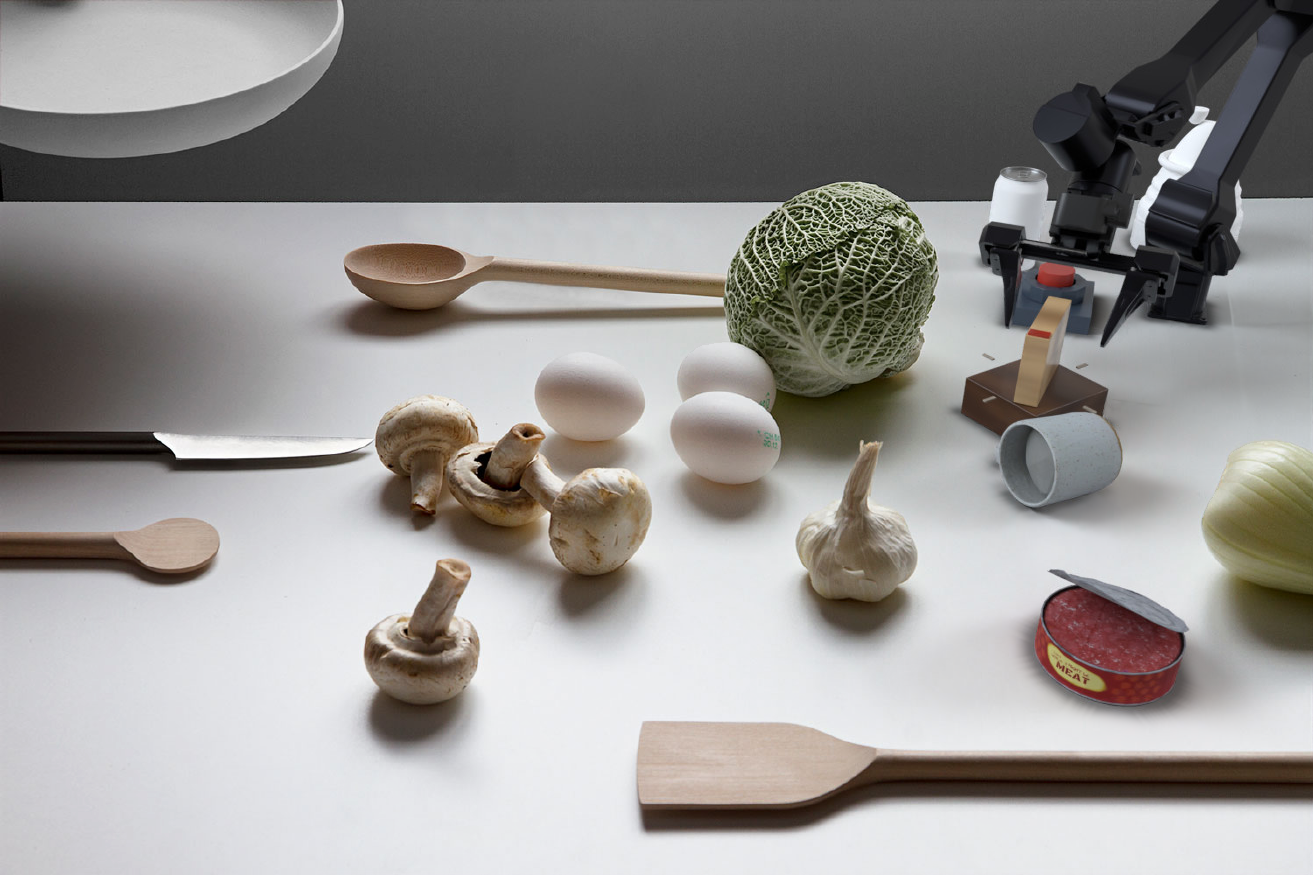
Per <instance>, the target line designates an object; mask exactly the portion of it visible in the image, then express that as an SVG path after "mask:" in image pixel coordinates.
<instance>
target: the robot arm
mask: <svg viewBox="0 0 1313 875" xmlns="http://www.w3.org/2000/svg"><path fill="white" fill-rule="evenodd" d="M1255 33H1256V43H1255V46H1254V47H1253V50H1252V52H1251V54H1250V55H1249V57H1248V60H1247V62H1246V63H1245V65H1244V67H1243V69H1242V71H1241V73H1240V75H1239V78H1238V79H1237V81H1236V82H1235V85H1234V87H1233V89H1232V91H1231V92H1230V95H1229V96H1228V99H1227V100H1226V102H1225V104H1224V106H1223V108H1222V109H1221V112H1220V113H1219V115H1218V117H1217V119H1216V120H1215V121H1216V123H1215V125H1214V127H1213V129H1212V131H1211V133H1210V135H1209V137H1208V139H1207V140H1206V142H1205V144H1204V146H1203V148H1202V150H1201V152H1200V154H1199V156H1198V158H1197V160H1196V162H1195V164H1194V165H1193V167H1192V169H1191V170H1190V171H1189V172H1187V173H1186V174H1185V175H1183V176H1182V177H1180V178H1179V179H1177V180H1174V179H1171V178H1168V179H1167V180H1166V181H1165V182H1164V183H1163V184H1162V186H1161V189H1160V191H1159V194H1158V196H1157V198H1156V200H1155V201H1154V203H1153V204H1152V205H1151V207H1150V208H1149V209H1148V212H1149V213H1148V215H1147V217H1146V220H1145V245H1139V246H1138V248H1137V250H1136V251H1135V254H1134V256H1132V255H1125V254H1120V253H1113V252H1111V249H1112V246H1113V243H1114V239H1115V236H1116V231H1117V230H1118V229H1121V230H1127V229H1128V228H1129V226H1130V221H1131V218H1132V214H1133V210H1134V205H1135V201H1136V194H1134V193H1128V190H1129V187H1130V184H1131V180H1132V178H1133V177H1140V176H1141V175H1142V172H1143V169H1142V164H1141V162H1140V161H1139V160H1138V155H1137V153H1136V152H1135V149H1133V148H1132V147H1131V145H1130V144H1129V143H1128V142H1126V141H1124V140H1127V141H1131V142H1134V143H1137V144H1141V145H1144V146H1147V147H1151V148H1164V147H1165V146H1167V145H1169V144H1170V143H1171V142H1172V141H1174V139H1175V138H1176V137H1177V136H1178V135H1179V134H1180V132H1181V131H1182V129H1183V128H1184V127H1185V126H1186V125H1187V123H1188V122H1189V119H1190V118H1191V116H1192V115H1193V114H1194V112H1195V106H1197V98H1198V95H1199V93H1200V91H1202V88H1204V87H1205V85H1206V84H1207V83H1208V82H1209V81H1210V80H1211V79H1212V78H1213V77H1214V76H1215V74H1217V73H1218V72H1219V71H1220V69H1221V68H1222V67H1223V66H1224V65H1226V63H1227V62H1228V61H1229V60H1230V59H1231V58H1232V57H1233V56H1234V55H1235V54H1236V53H1237V52H1238V51H1240V49H1241V48H1242V47H1243V46H1244V45H1245V44H1246V42H1248V41H1249V40H1250V39H1251V37H1252V36H1253V35H1254V34H1255ZM1312 54H1313V0H1217V1H1216V2H1215V3H1214V4H1213V5H1212V6H1211V7H1210V8H1209V9H1208V10H1207V11H1206V12H1205V13H1204V14H1203V15H1202V16H1201V17H1200V18H1199V19H1198V20H1197V21H1196V23H1194V24H1193V26H1191V28H1189V30H1188V31H1187V32H1186V33H1185V34H1183V36H1182V37H1181V38H1180V39H1179V40H1178V41H1176V43H1175V44H1174V45H1173V46H1172V47H1171V48H1170V49H1169V50H1168V51H1167V52H1165V54H1163V55H1162V56H1161V57H1160V58H1157V59H1154V60H1152V61H1150V62H1147V63H1144V64H1141V65H1138V66H1136V67H1134V68H1133V69H1132V70H1131V71H1129V72H1128V73H1127V74H1125V75H1124V76H1123V77H1121V78H1120V79H1119V80H1118V81H1117V82H1115V83H1114V84H1113V85H1112V86H1111V87H1110V89H1108V90H1107V91H1105V92H1103V93H1100V91H1099V90H1098V89H1097V87H1096V86H1095V85H1093V84H1089V83H1085V82H1082V81H1077V82H1076V84H1075V85H1074V86H1073V88H1072V90H1070V91H1065V92H1062V93H1059V94H1057V95H1056V96H1053V97H1052V98H1051V99H1049V100H1048V101H1047V102H1046V103H1043V104H1042V105H1041V106H1040V107H1039V109H1038V110H1037V111H1036V114H1035V115H1034V117H1033V121H1032V130H1033V134H1034V136H1035V137H1036V139H1037V140H1038V141H1039V142H1040V143H1041V145H1042V146H1043V147H1044V149H1046V151H1047V152H1048V153H1049V154H1050V156H1051V157H1052V158H1053V159H1054V161H1055V162H1056V163H1057V164H1058V165H1059V167H1060V168H1062V169H1063V170H1064V171H1067V172H1070V173H1071V174H1070V177H1069V180H1068V183H1067V187H1066V190H1065V192H1063V191H1061V192H1058V193H1057V197H1056V201H1055V205H1054V209H1053V213H1052V218H1051V222H1050V226H1049V230H1048V236H1049V237H1051V241H1050V242H1047V241H1040V240H1039V241H1034V240H1028V239H1026V232H1025V226H1019V225H1013V224H1007V223H1000V222H994V221H991V222H990V223H989V222H988V223H987V224H986V225H984V227H982V230H981V233H980V237H979V240H978V247H979V252H980V257H981V263H982V264H983V265H984V266H987V267H989V268H990V267H992V268H991V272H992V274H993V275H995V276H999V277H1000V278H1002V283H1003V284H1002V285H1003V306H1004V309H1003V310H1004V327H1005V329H1006V330H1010V328H1011V325H1013V324H1012V321H1013V318H1014V314H1015V309H1016V304H1017V299H1018V293H1019V288H1020V283H1021V278H1022V272H1021V266H1022V265H1023V261H1024V259H1030V260H1035V262H1042V263H1047V262H1048V263H1053V264H1059V265H1065V266H1071V267H1074V268H1078V269H1082V270H1090V271H1095V272H1101V273H1105V274H1106V273H1107V274H1112V275H1117V276H1124V279H1123V282H1122V285H1121V288H1120V291H1119V293H1118V295H1117V297H1116V300H1115V302H1114V305H1113V307H1112V309H1111V312H1110V314H1109V316H1108V319H1107V321H1106V324H1105V326H1104V328H1103V332H1102V336H1101V340H1100V344H1099V346H1100V348H1103V349H1104V348H1106V347H1107V345H1108V344H1109V343H1110V341H1111V340H1112V339H1113V337H1114V336H1115V335H1116V334H1117V332H1118V331H1119V329H1120V328H1122V326H1123V325H1124V323H1125V322H1126V321H1127V320H1128V318H1129V317H1131V316H1132V315H1133V314H1134V313H1135V312H1136V311H1137V310H1138V309H1139V308H1140V307H1141V306H1142V305H1143V304H1144V303H1146V317H1149V318H1156V319H1164V320H1170V321H1177V322H1184V323H1193V324H1199V325H1206V324H1208V321H1209V316H1208V304H1207V298H1208V295H1209V292H1210V287H1211V284H1212V279H1213V277H1214V276H1216V277H1226V276H1228V275H1229V272H1230V271H1232V270H1233V269H1234V268H1235V266H1236V264H1237V263H1238V260H1239V258H1240V256H1241V249H1240V247H1239V245H1238V242H1237V243H1236V241H1235V239H1234V238H1233V236H1232V234H1231V232H1230V230H1231V227H1232V225H1233V223H1234V220H1235V218H1236V215H1237V211H1236V197H1235V186H1236V184H1237V182H1238V180H1239V181H1240V178H1241V176H1242V174H1243V172H1244V170H1245V169H1246V168H1247V164H1248V163H1249V162H1250V159H1251V157H1252V156H1253V154H1254V152H1255V150H1256V148H1257V146H1258V144H1259V143H1260V141H1261V139H1262V137H1263V135H1264V133H1265V131H1266V130H1267V127H1268V126H1269V124H1270V122H1271V120H1272V118H1273V117H1274V115H1275V113H1276V111H1277V108H1278V107H1279V106H1280V103H1281V101H1282V99H1283V98H1284V95H1285V94H1286V92H1287V90H1288V88H1289V86H1290V84H1292V81H1293V79H1294V77H1295V75H1296V73H1297V71H1298V69H1299V67H1300V66H1301V64H1302V62H1303V61H1304V60H1305V58H1307V57H1308V56H1310V55H1312ZM1119 138H1121V139H1119Z"/></svg>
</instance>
